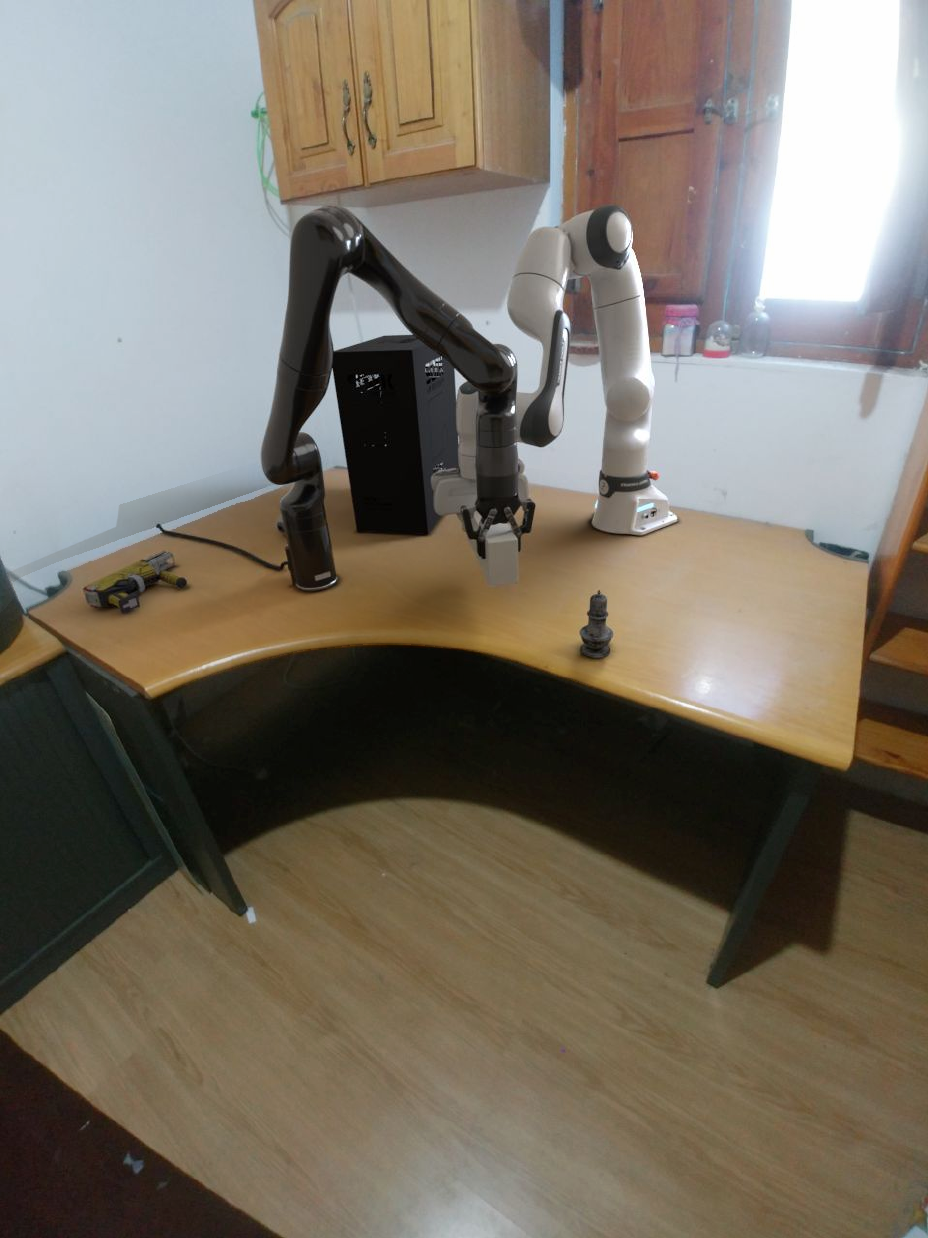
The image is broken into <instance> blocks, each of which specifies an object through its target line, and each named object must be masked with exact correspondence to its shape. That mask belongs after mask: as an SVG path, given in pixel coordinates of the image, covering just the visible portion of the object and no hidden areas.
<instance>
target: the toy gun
mask: <svg viewBox="0 0 928 1238" xmlns="http://www.w3.org/2000/svg"><path fill="white" fill-rule="evenodd" d="M170 559H172V562H169V561H168V560H170ZM175 565H176V563H175V557H174V553H172V552H171V551H167V550H162V551H159V552H158V553H155V554H154V555H151V556H149V557H148V558H145V559H140V560H139V561H136V562H134V563H132V564H130V565H128V566H126V567H124V568H121V569H119V570H117V571H115V572H113V573H110V574H109V575H106V576H104V577H102V578H100V579H98V580H95V581H94V582H91V583H89V584H87V585H85V586H84V587H83V588H82V590H83V594H84V596H85V601H86V603H87V604H88V605H89V606H90V607H91V608H94V609H97V608H107V607H108V608H109V607H112V606H116V607H118V608H119V610H120V614H121V615H122V614H123V615H124V614H127V613H129V612H131V611H133V610H135V609H138V608H140V607H141V606H140V602H139V597H138V595H140V594H142V593H144V592H145V591H146V588H147V587H149V586H151V585H154V584H157V583H159V581H163V582H165V583H168V584H169V585H172V586H176V587H177V588H178V589H183V588H186V587H187V586H188V580H187V579H186V578H185V577H183V576H180V575H176V574H174V573H172V572H170V571H167V570H169V569H170V568H172V567H175Z"/></svg>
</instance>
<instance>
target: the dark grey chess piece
mask: <svg viewBox="0 0 928 1238" xmlns="http://www.w3.org/2000/svg"><path fill="white" fill-rule="evenodd" d="M607 608H608V598H607V596H606V595H605V594H603V593H602V590H600V589H599V590H597V591H596V593H595V594H592V595H590V599H589V609H588V610H587V612H586V615H587V617H588V620H587V621H588V622H587V624H586V625H584V626H582V627H581V628H579V636H580V638H581V641H582V644H581V645H580V648H579V649H580V652H581V653H582V654H583V655H585V656H587V657H589V658H594V659H597V658H604V657H607V656H609V654H610V653H611V647H610V646H609V644H610V643H611V640H612V638H614V631H613V629H611V628H610V627H609V626H607V618H608V617H609V612H608V611H607Z"/></svg>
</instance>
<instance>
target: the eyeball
mask: <svg viewBox="0 0 928 1238" xmlns="http://www.w3.org/2000/svg"><path fill="white" fill-rule="evenodd" d="M275 527H276V529H277V530H278V531H279V532H280V533H281V534H282V535H286V534H285V529H284V525H283V520H282V515H281V513H280V514H279V515H278V516H277V517H276V520H275Z"/></svg>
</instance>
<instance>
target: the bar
mask: <svg viewBox="0 0 928 1238" xmlns="http://www.w3.org/2000/svg"><path fill="white" fill-rule="evenodd" d="M481 517H482V516H481V515H480V514H479V513H478V512H477V511H475V512H474V517H473V518H471V522H472V526H473V530H474V531H477V529H478V527H479V522H480V519H481ZM487 525H488V524H487ZM466 537H467V538H466V539H467V542H468V544H469V546H470V549H471V550H472V553H473V554H474V558H475V559H476V560H477V563H478V566H479V567H480V570H481V571H482V574H483V576H484V578H485V580H486V582H487V585H488V586H489V587H497V586H505V585H513V584H519V552H518V539H517V537H516V536H515V534H514V533H513V531H512V529H511V527H510V525H509V523H506V524H502V523H499V524H496V525H491V526H490V529H489V531H488V532H487V534H486V536H485V539H484V540H485V550H486V559H482V558H481V557H479V555H478V553H477V544H476V540H474V539H472V540H470V539H469V538H468V536H467V535H466Z"/></svg>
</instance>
